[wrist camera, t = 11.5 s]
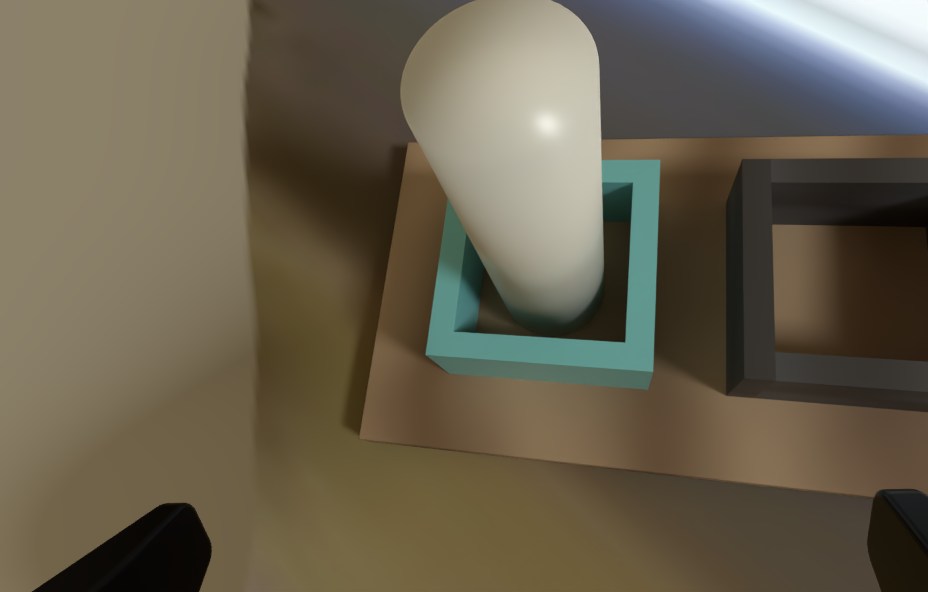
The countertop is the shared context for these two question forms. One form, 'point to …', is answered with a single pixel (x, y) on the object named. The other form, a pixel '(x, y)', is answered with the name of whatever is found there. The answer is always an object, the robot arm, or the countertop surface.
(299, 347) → the countertop surface
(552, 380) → the port
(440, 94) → the plug
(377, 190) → the countertop surface
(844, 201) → the panel board
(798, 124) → the countertop surface
